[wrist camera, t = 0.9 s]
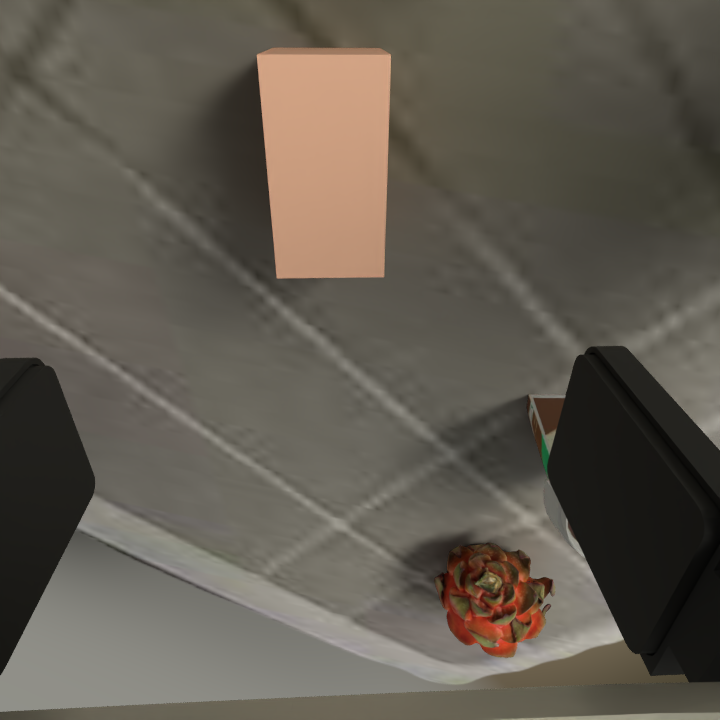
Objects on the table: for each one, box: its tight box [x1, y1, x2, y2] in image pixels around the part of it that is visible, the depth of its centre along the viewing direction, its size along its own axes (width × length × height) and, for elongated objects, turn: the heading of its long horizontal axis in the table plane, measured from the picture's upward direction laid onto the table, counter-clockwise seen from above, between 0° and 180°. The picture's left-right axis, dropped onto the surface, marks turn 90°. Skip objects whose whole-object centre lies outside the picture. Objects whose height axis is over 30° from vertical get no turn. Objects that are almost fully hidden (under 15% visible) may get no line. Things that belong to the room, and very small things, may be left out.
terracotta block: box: [257, 48, 391, 278], centre depth 24 cm, size 5×9×6 cm, turn 0°
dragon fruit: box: [434, 543, 555, 658], centre depth 43 cm, size 8×8×12 cm
